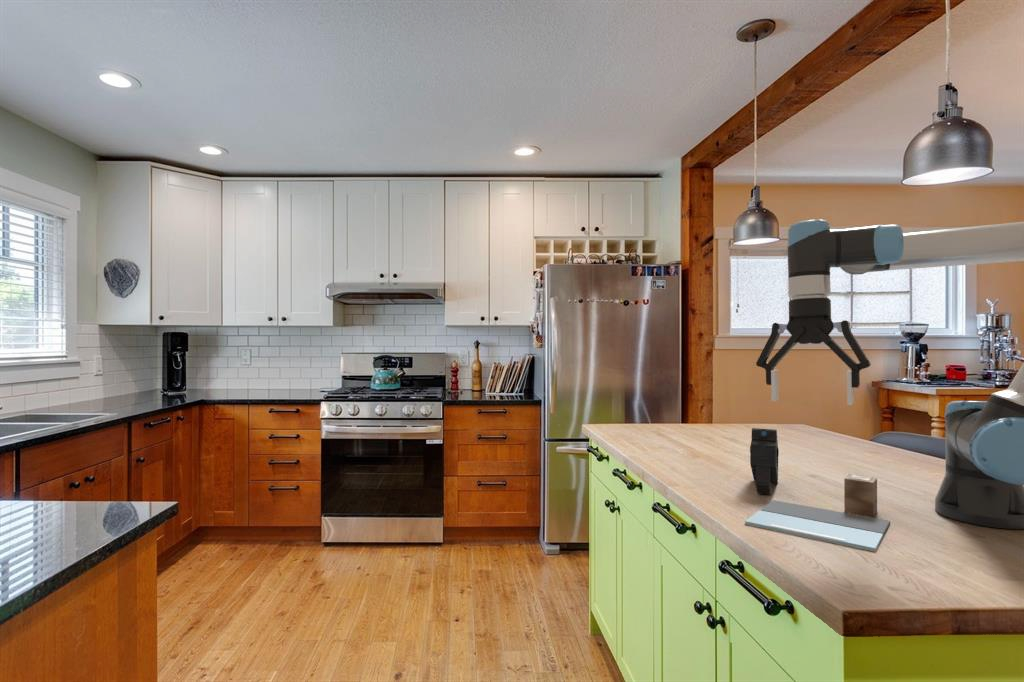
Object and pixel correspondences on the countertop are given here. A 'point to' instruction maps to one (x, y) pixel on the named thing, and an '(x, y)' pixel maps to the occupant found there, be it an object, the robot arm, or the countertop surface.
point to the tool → (764, 458)
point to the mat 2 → (816, 530)
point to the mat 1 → (828, 516)
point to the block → (860, 495)
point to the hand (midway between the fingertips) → (811, 402)
